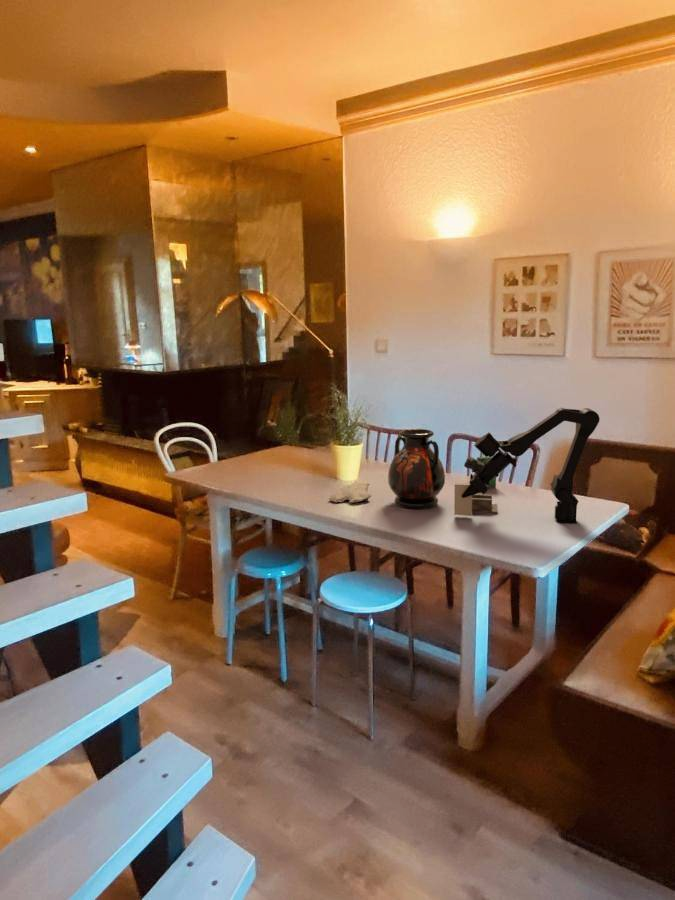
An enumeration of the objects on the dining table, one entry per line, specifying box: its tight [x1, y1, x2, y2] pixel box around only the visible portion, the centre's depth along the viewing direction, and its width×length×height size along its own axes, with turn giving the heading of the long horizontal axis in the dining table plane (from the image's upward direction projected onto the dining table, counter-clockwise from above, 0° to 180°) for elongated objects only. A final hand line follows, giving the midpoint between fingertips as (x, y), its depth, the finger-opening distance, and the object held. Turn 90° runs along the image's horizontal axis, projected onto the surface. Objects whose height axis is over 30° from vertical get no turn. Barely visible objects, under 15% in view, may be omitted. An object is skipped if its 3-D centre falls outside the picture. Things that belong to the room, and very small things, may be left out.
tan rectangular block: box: [453, 481, 473, 516], centre depth 234 cm, size 6×3×11 cm, turn 78°
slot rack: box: [472, 493, 498, 515], centre depth 245 cm, size 14×10×5 cm
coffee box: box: [476, 455, 497, 489], centre depth 273 cm, size 8×3×13 cm, turn 106°
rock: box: [328, 479, 372, 504], centre depth 263 cm, size 21×5×15 cm
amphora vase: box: [387, 428, 446, 510], centre depth 251 cm, size 22×22×28 cm
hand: (462, 495), depth 234 cm, fingers closed on tan rectangular block, 3 cm apart
